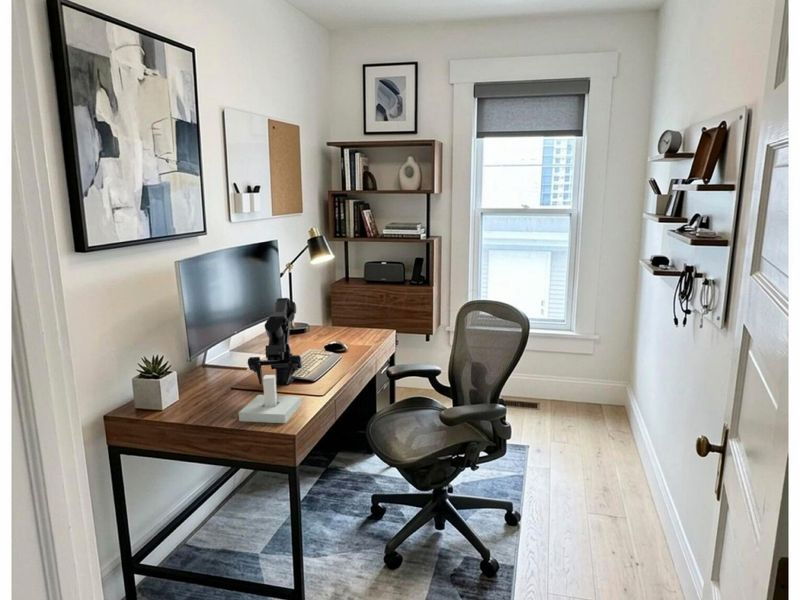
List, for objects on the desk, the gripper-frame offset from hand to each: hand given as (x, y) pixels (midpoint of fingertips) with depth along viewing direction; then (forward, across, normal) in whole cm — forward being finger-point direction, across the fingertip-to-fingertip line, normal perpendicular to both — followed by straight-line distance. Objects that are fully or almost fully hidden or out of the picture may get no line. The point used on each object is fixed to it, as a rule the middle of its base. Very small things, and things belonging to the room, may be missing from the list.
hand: (273, 384), depth 189 cm
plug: (+11, 0, 0) cm, 11 cm away
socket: (+11, 0, 0) cm, 11 cm away
